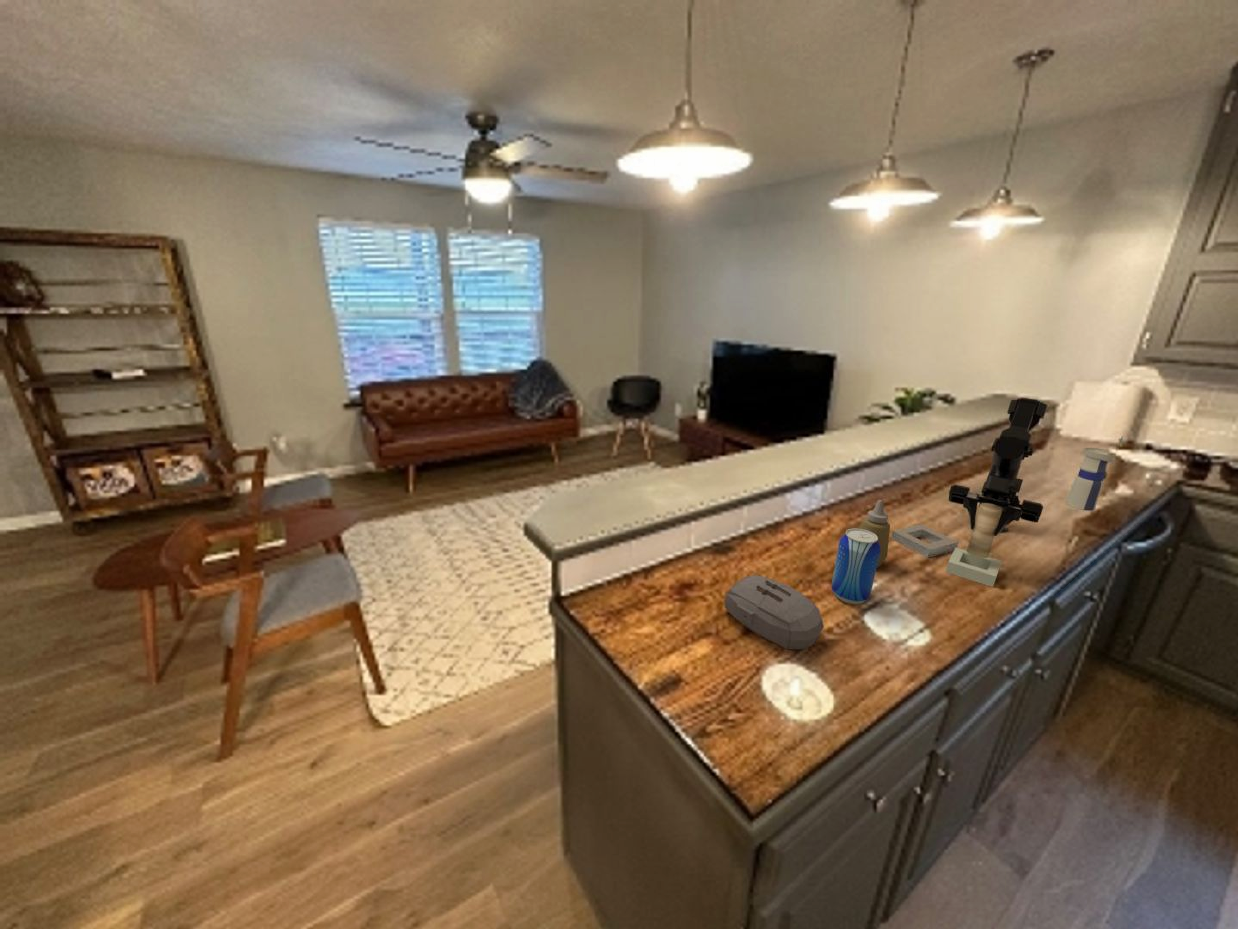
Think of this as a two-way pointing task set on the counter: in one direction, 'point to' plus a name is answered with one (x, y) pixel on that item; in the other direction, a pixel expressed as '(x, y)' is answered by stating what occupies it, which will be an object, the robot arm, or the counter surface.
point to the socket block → (928, 550)
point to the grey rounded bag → (775, 612)
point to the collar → (973, 567)
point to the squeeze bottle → (878, 528)
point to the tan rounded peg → (984, 530)
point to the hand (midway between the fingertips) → (983, 532)
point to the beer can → (855, 566)
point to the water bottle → (1090, 478)
